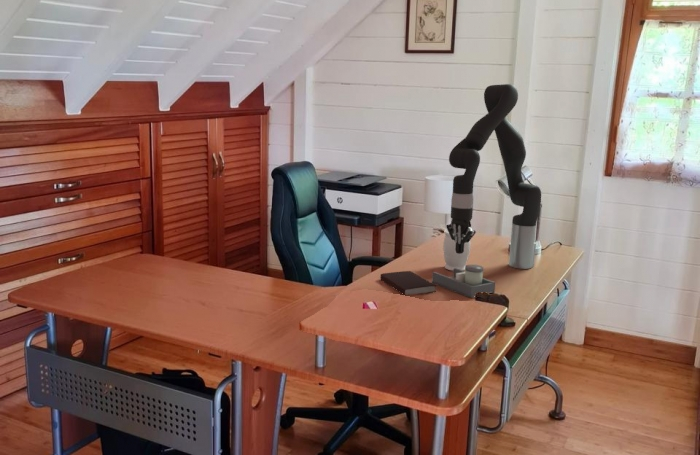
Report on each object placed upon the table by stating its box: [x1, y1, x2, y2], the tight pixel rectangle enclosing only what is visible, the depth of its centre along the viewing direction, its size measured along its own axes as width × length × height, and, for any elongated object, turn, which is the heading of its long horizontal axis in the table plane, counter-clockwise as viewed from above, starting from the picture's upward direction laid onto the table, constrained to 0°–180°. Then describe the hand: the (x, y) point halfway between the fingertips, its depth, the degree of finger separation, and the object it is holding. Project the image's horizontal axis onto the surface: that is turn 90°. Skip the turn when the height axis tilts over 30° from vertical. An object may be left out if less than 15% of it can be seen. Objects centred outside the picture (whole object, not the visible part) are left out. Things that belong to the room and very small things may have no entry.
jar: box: [442, 229, 471, 272], centre depth 264 cm, size 11×10×15 cm
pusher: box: [456, 272, 465, 283], centre depth 240 cm, size 8×2×5 cm, turn 124°
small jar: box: [464, 264, 484, 286], centre depth 236 cm, size 6×6×8 cm
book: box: [379, 270, 437, 296], centre depth 242 cm, size 13×19×3 cm, turn 23°
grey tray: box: [431, 268, 496, 299], centre depth 241 cm, size 11×20×4 cm, turn 34°
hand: (459, 253), depth 241 cm, fingers closed
